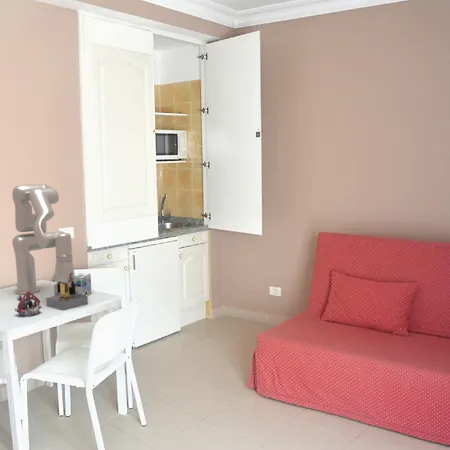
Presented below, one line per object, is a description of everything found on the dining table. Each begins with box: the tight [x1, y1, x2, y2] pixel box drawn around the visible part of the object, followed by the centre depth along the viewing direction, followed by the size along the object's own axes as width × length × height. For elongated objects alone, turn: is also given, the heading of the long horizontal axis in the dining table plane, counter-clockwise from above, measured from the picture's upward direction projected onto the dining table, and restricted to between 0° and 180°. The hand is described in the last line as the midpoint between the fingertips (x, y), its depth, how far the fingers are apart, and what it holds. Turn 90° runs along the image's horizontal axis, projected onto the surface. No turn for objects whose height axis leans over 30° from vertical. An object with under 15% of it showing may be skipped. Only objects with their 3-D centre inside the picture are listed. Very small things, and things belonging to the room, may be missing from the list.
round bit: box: [53, 283, 61, 296], centre depth 290 cm, size 6×6×6 cm
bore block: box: [45, 293, 89, 311], centre depth 271 cm, size 14×14×4 cm
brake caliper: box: [14, 291, 42, 318], centre depth 257 cm, size 11×11×12 cm
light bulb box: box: [71, 273, 92, 296], centre depth 290 cm, size 11×7×11 cm, turn 168°
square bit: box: [60, 282, 73, 299], centre depth 271 cm, size 4×4×11 cm
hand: (66, 293), depth 270 cm, fingers open, 9 cm apart
